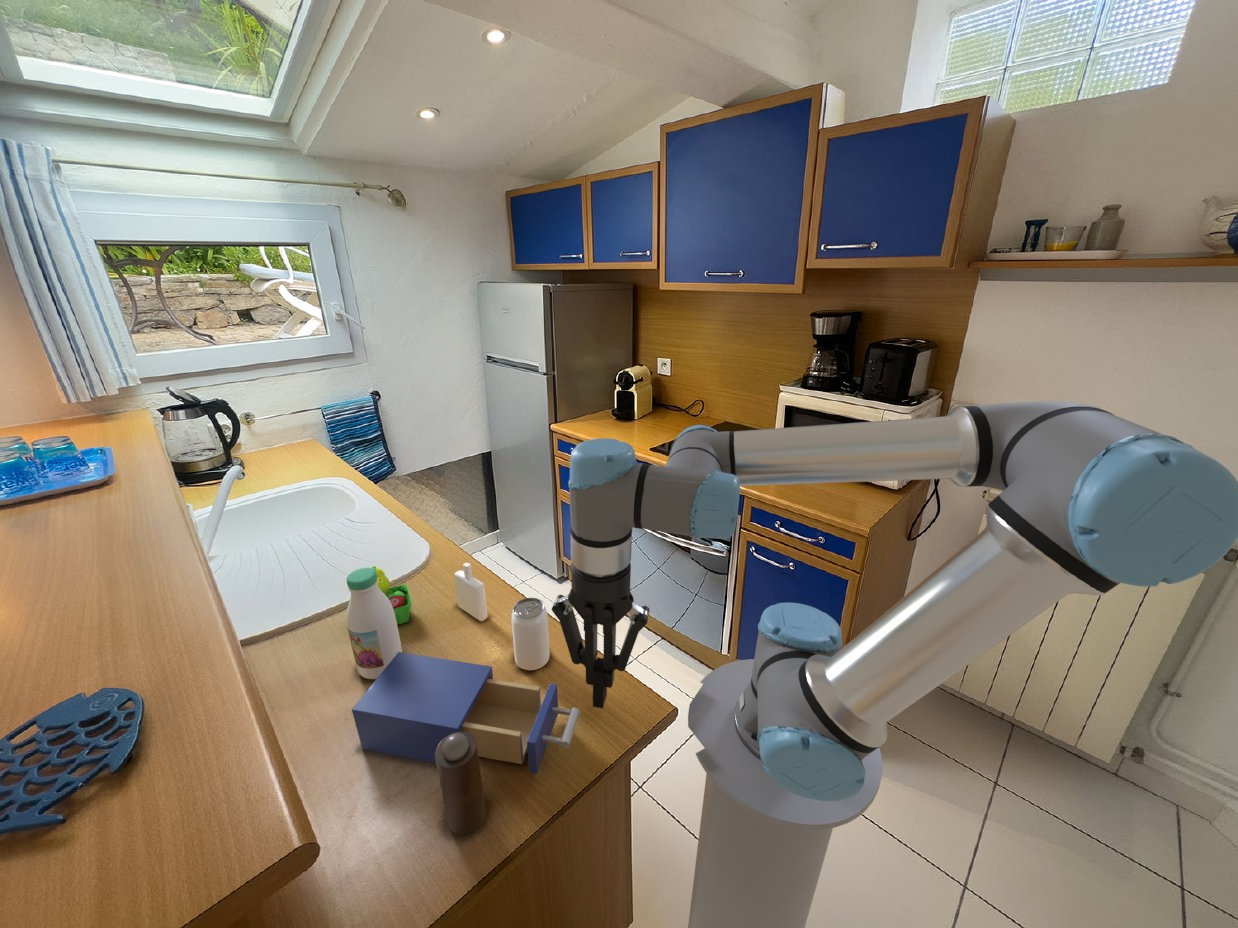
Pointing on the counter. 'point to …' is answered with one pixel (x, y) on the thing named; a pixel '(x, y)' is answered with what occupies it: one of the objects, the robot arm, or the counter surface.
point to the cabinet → (417, 704)
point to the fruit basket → (395, 597)
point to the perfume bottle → (470, 593)
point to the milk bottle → (371, 624)
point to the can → (530, 634)
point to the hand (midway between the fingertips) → (599, 699)
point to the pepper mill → (461, 782)
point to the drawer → (517, 722)
